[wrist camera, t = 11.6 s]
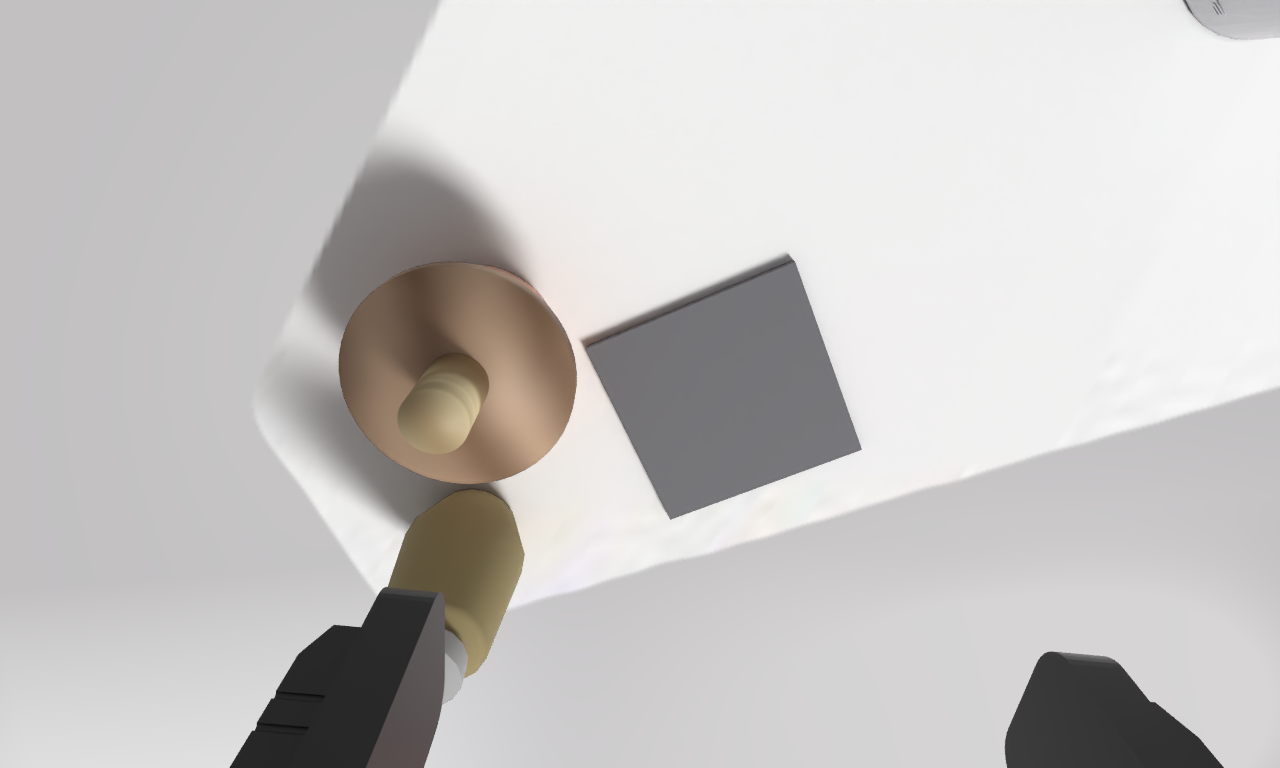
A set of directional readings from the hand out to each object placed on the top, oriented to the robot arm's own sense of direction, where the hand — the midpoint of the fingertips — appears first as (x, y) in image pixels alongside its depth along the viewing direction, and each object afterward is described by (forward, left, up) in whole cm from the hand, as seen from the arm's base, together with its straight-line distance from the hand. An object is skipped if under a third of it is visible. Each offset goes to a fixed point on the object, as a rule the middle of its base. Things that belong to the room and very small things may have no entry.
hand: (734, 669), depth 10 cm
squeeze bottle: (+21, +15, -36) cm, 44 cm away
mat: (+1, +13, -36) cm, 38 cm away
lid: (+14, +3, -30) cm, 33 cm away
